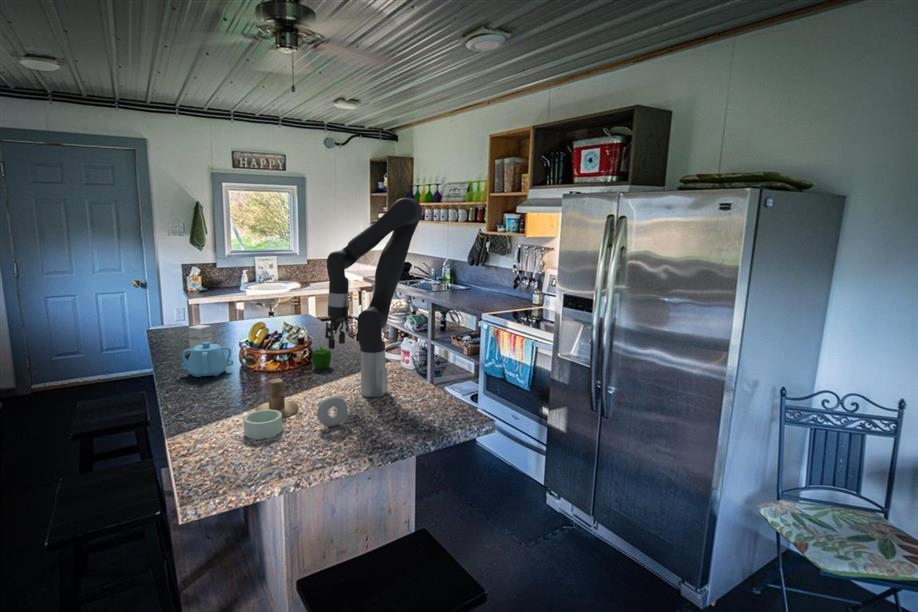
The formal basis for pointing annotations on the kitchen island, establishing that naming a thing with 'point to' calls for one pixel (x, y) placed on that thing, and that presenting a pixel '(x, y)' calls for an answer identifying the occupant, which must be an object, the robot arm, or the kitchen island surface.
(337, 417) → the donut
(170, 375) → the kitchen island surface
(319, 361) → the bell pepper
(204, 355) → the decorative pot
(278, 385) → the lid
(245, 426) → the bowl
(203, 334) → the supplement box
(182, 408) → the kitchen island surface
